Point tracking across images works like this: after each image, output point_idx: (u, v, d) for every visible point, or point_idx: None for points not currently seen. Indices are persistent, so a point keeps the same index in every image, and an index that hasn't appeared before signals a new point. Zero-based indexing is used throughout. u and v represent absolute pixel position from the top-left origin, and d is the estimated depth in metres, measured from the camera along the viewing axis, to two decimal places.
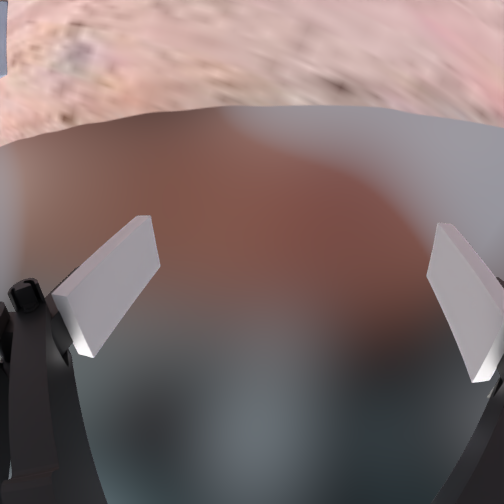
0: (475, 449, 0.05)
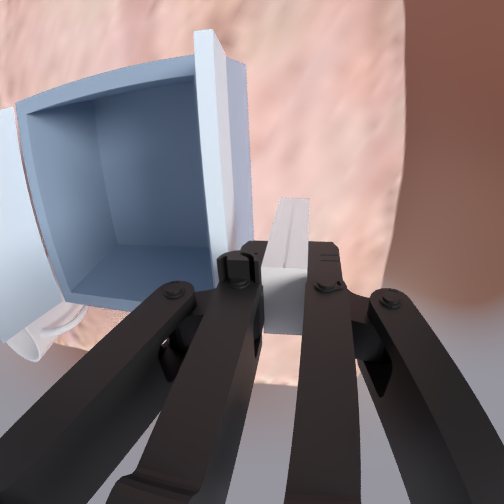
0: None
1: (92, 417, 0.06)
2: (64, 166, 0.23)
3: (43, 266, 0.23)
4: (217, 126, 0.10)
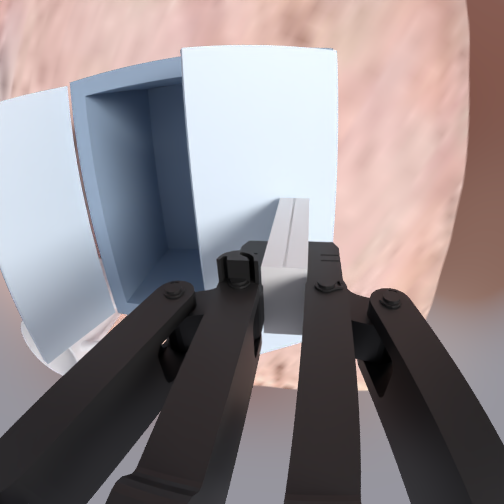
0: None
1: (92, 417, 0.06)
2: (121, 160, 0.22)
3: (96, 274, 0.22)
4: (188, 121, 0.13)
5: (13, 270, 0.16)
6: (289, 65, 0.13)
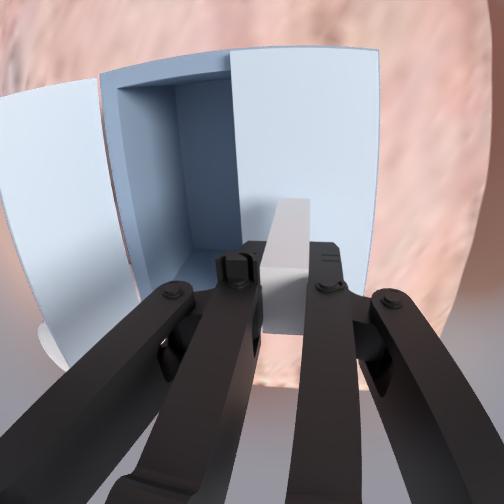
0: None
1: (91, 417, 0.06)
2: (151, 157, 0.22)
3: (124, 275, 0.22)
4: (235, 111, 0.16)
5: (38, 272, 0.15)
6: (327, 65, 0.14)
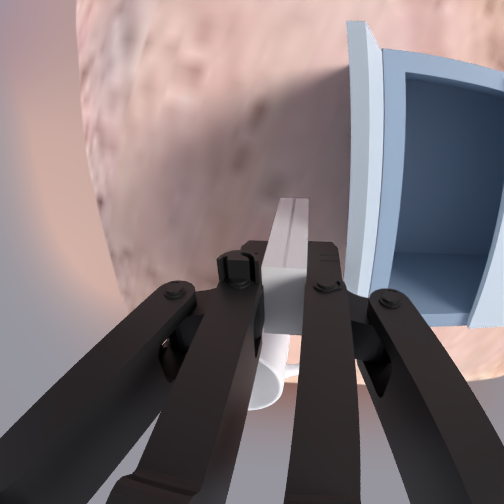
0: None
1: (92, 417, 0.06)
2: None
3: (369, 284, 0.19)
4: None
5: (359, 291, 0.13)
6: None
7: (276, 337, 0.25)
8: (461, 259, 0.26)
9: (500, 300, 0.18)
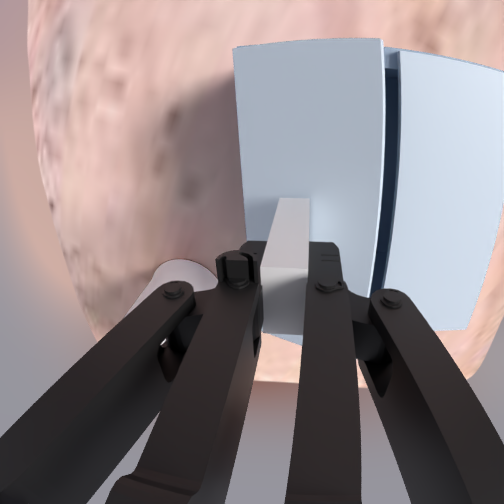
0: None
1: (92, 417, 0.06)
2: None
3: None
4: (402, 112, 0.14)
5: None
6: (479, 82, 0.12)
7: None
8: None
9: None
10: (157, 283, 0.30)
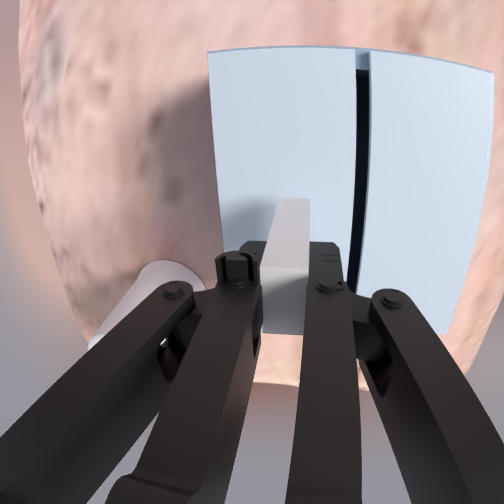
0: None
1: (91, 417, 0.06)
2: None
3: None
4: (372, 113, 0.14)
5: None
6: (456, 81, 0.12)
7: None
8: None
9: None
10: (140, 283, 0.30)
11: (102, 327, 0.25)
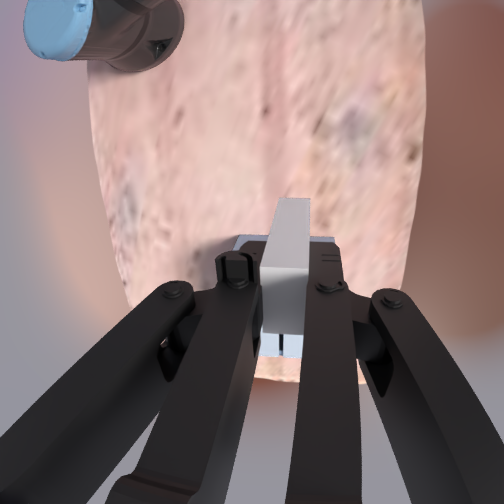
0: None
1: (91, 417, 0.06)
2: None
3: None
4: None
5: None
6: None
7: None
8: None
9: (296, 347, 0.52)
10: None
11: None
